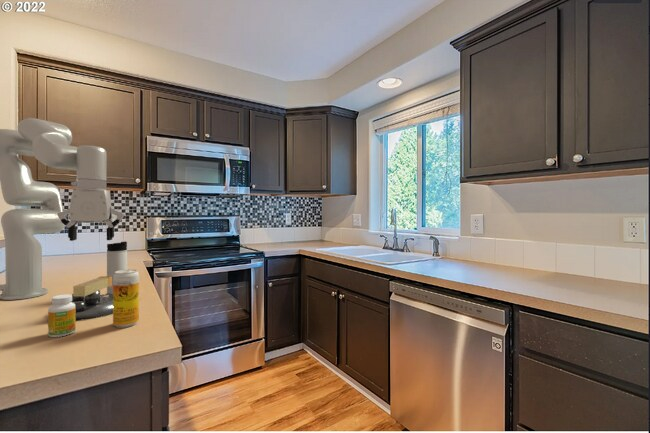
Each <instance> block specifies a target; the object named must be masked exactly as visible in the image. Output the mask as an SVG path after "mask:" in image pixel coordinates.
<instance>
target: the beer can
mask: <svg viewBox="0 0 650 433" xmlns="http://www.w3.org/2000/svg"><path fill="white" fill-rule="evenodd" d="M139 300H140V274H139V272H138V270H137V269H130V268H129V269H127V270H120V271H116V272H115V274H114V276H113V314H112V324H113V325H114V327H116V328H118V329H119V328H123V329H125V328H129V327H133V326H135V325H136V324H137V323H138V321H139V320H140V315H139V314H140V311H139V310H140V304H139Z"/></svg>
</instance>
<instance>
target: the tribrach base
mask: <svg viewBox="0 0 650 433" xmlns="http://www.w3.org/2000/svg"><path fill="white" fill-rule="evenodd" d="M71 295H72V301H71V302H72V303H74V304H75V307H76V312H75V321H82V320H81V319H84V320H89V319H97V318H102V317H105V316H106V317H107V316H109V315H113V296H109V295H107V294H105V295H100V303H97V304H92V305H85V301H84V296H73V293H72V294H71ZM101 316H102V317H101ZM96 317H97V318H96Z"/></svg>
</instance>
